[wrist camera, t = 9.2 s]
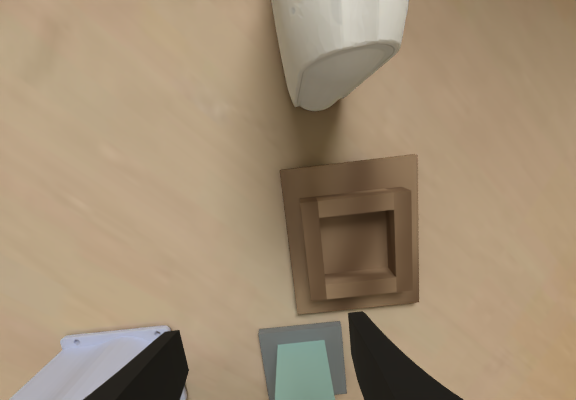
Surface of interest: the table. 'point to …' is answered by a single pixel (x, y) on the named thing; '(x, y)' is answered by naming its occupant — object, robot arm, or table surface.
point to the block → (303, 372)
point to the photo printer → (335, 45)
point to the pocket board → (353, 233)
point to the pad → (304, 334)
